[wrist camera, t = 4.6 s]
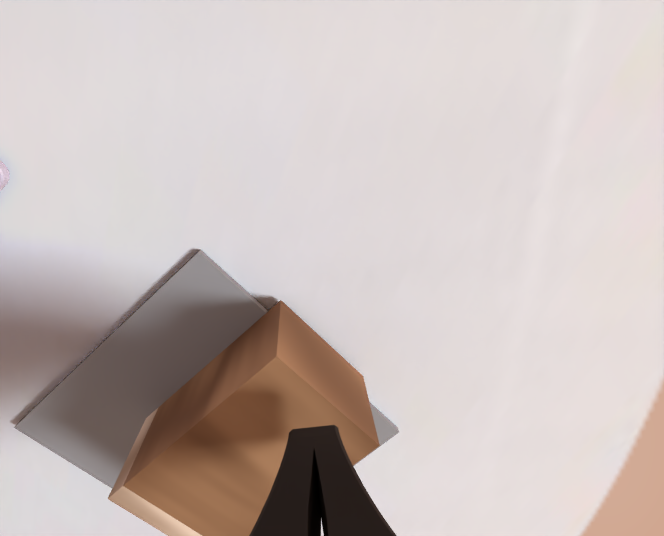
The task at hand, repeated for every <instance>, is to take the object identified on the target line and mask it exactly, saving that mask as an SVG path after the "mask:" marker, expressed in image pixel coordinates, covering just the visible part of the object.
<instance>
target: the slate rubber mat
mask: <svg viewBox="0 0 664 536" xmlns="http://www.w3.org/2000/svg"><path fill="white" fill-rule="evenodd" d="M267 312H268V310H267V309H266V308H265V307H263V306H262V305H261V304H260V303H259V302H258V301H257V300H256V299H255V298H253V297H252V296H251V295H250V294H249V293H248V292H247V291H246V290H245V289H244V288H242V287H241V286H240V285H239V284H238V283H237V282H236V281H235V280H234V279H232V278H231V277H230V276H229V275H228V274H227V273H226V272H225V271H224V270H222V269H221V268H220V267H219V266H218V265H217V264H216V263H215V262H214V261H213V260H211V259H210V258H209V257H208V256H207V255H206V254H205V253H204V252H203V251H201V250H199V251H198V252H197V253H196V254H195V255H194V256H193V257H192V258H191V259H190V260H189V261H188V262H187V263H186V264H185V265H184V266H183V267H182V268H180V269H179V270H178V271H177V272H176V273H175V274H174V275H173V276H172V277H171V278H170V279H169V280H168V281H167V282H166V283H165V284H164V285H163V286H162V287H161V288H159V289H158V290H157V291H156V292H155V293H154V294H153V295H152V296H151V297H150V298H149V299H148V300H147V301H146V302H145V303H144V304H143V305H142V306H141V307H140V308H138V309H137V310H136V311H135V312H134V313H133V314H132V315H131V316H130V317H129V318H128V319H127V320H126V321H125V322H124V323H123V324H122V325H121V326H120V327H119V328H117V329H116V330H115V331H114V332H113V333H112V334H111V335H110V336H109V337H108V338H107V339H106V340H105V341H104V342H103V343H102V344H101V345H100V346H99V347H98V348H96V349H95V350H94V351H93V352H92V353H91V354H90V355H89V356H88V357H87V358H86V359H85V360H84V361H83V362H82V363H81V364H80V365H79V366H78V367H77V368H75V369H74V370H73V371H72V372H71V373H70V374H69V375H68V376H67V377H66V378H65V379H64V380H63V381H62V382H61V383H60V384H59V385H58V386H57V387H56V388H54V389H53V390H52V391H51V392H50V393H49V394H48V395H47V396H46V397H45V398H44V399H43V400H42V401H41V402H40V403H39V404H38V405H37V406H36V407H35V408H33V409H32V410H31V411H30V412H29V413H28V414H27V415H26V416H25V417H24V418H23V419H22V420H21V421H20V422H19V423H18V424H17V425H16V426H15V427H14V428H16V429H17V430H19V431H20V432H22V433H24V434H25V435H27V436H28V437H30V438H32V439H33V440H35V441H37V442H38V443H40V444H41V445H43V446H45V447H46V448H48V449H49V450H51V451H53V452H54V453H56V454H58V455H59V456H61V457H62V458H64V459H66V460H67V461H69V462H70V463H72V464H74V465H75V466H77V467H78V468H80V469H82V470H83V471H85V472H87V473H88V474H90V475H91V476H93V477H95V478H96V479H98V480H99V481H101V482H103V483H104V484H106V485H108V486H109V487H111V488H112V489H113V487H114V484H115V482H116V480H117V478H118V476H119V474H120V472H121V470H122V468H123V466H124V463H125V461H126V459H127V457H128V455H129V453H130V451H131V449H132V447H133V445H134V442H135V440H136V438H137V436H138V434H139V432H140V430H141V428H142V426H143V424H144V421H145V419H146V418H147V417H148V416H149V415H150V414H151V413H153V412H154V411H155V410H156V409H157V408H158V407H159V406H161V405H162V404H163V403H164V402H165V401H166V400H167V399H169V398H170V397H171V396H172V395H173V394H174V393H175V392H177V391H178V390H179V389H180V388H181V387H182V386H183V385H185V384H186V383H187V382H188V381H189V380H190V379H191V378H193V377H194V376H195V375H196V374H197V373H198V372H199V371H201V370H202V369H203V368H204V367H205V366H206V365H207V364H209V363H210V362H211V361H212V360H213V359H214V358H215V357H217V356H218V355H219V354H220V353H221V352H222V351H223V350H225V349H226V348H227V347H228V346H229V345H230V344H231V343H233V342H234V341H235V340H236V339H237V338H238V337H239V336H241V335H242V334H243V333H244V332H245V331H246V330H247V329H249V328H250V327H251V326H252V325H253V324H254V323H255V322H257V321H258V320H259V319H260V318H261V317H262V316H263V315H265V314H266V313H267ZM369 403H370V402H369ZM370 407H371V411H372V415H373V420H374V424H375V428H376V432H377V436H378V440H379V444H380V446H381V445H382V444H384V443H385V442H386V441H388V440H389V439H390V438H392V437H393V436H394V435H396V434H397V433H398V432H399V431H398V428H397V427H396V426H395V425H394V424H393V423H392V422H391V421H390V420H389V419H387V418H386V417H385V416H384V415H383V414H382V413H381V412H380V411H379V410H377V409H376V408H375V407H374V406H373V405H372V404H371V403H370ZM380 446H379V447H380ZM377 448H378V447H377ZM377 448H376V449H377ZM376 449H375V450H376ZM373 451H374V450H373ZM373 451H372V452H373ZM372 452H371V453H372ZM369 454H370V453H369ZM369 454H368V455H369ZM365 457H366V456H365ZM365 457H364V458H365ZM361 460H362V459H361ZM361 460H360V461H361ZM357 463H358V462H357ZM357 463H356V464H357ZM354 465H355V464H354ZM354 465H353V466H354Z"/></svg>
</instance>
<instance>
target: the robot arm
mask: <svg viewBox="0 0 664 536" xmlns="http://www.w3.org/2000/svg"><path fill="white" fill-rule="evenodd" d="M8 181H9V171H8V169H7V167H6V166H5V165H4V163H3V162H1V161H0V191H1V190H2V189H3V188H4V187H5V185H6V184H7V183H8ZM321 519H322V526H323V532H324V536H396V534H395V533H394V532H393V530H392V529H391V528H390V526H389V525H388V523H387V522H386V521H385V519H384V518H383V516H382V515H381V513H380V512H379V510H378V509H377V507H376V505H375V504H374V502H373V501H372V499H371V497H370V496H369V494H368V493H367V491H366V489H365V487H364V486H363V484H362V482H361V480H360V478H359V476H358V475H357V473H356V471H355V469H354V467H353V465H352V463H351V461H350V459H349V457H348V454H347V452H346V450H345V447H344V445H343V442H342V440H341V437H340V433H339V429H338V427H337V426H335V425H327V426H318V427H308V428H299V429H292V430H291V431H290V432H289V436H288V441H287V445H286V449H285V452H284V456H283V459H282V462H281V465H280V468H279V470H278V473H277V476H276V478H275V481H274V483H273V486H272V488H271V491H270V493H269V496H268V498H267V500H266V502H265V504H264V507H263V509H262V511H261V513H260V515H259V517H258V520H257V522H256V524H255V526H254V528H253V529H252V531H251V533H250V535H249V536H321Z"/></svg>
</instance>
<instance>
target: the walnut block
mask: <svg viewBox="0 0 664 536" xmlns="http://www.w3.org/2000/svg"><path fill="white" fill-rule="evenodd" d="M327 425H335V426H337V427H338V429H339V433H340V437H341V440H342V442H343V445H344V447H345V450H346V452H347V454H348V457H349V459H350V461H351V463H352V465H354V464H356V463H357V462H359V461H360V460H361V459H363V458H364V457H365V456H367V455H368V454H369V453H371V452H372V451H373V450H375V449H376V448H377V447H379V446H380V444H379V440H378V436H377V432H376V428H375V424H374V420H373V415H372V411H371V407H370V403H369V399H368V395H367V391H366V387H365V383H364V378H363V376H362V375H361V374H360V373H359V372H358V371H357V370H356V369H355V368H354V367H352V366H351V365H350V364H349V363H348V362H347V361H346V360H345V359H344V358H343V357H342V356H341V355H340V354H338V353H337V352H336V351H335V350H334V349H333V348H332V347H331V346H330V345H329V344H328V343H327V342H326V341H324V340H323V339H322V338H321V337H320V336H319V335H318V334H317V333H316V332H315V331H314V330H313V329H311V328H310V327H309V326H308V325H307V324H306V323H305V322H304V321H303V320H302V319H301V318H300V317H299V316H297V315H296V314H295V313H294V312H293V311H292V310H291V309H290V308H289V307H288V306H287V305H286V304H285V303H283V302H282V301H279V302H278V303H277V304H276V305H275V306H274V307H273V308H271V309H270V310H269V311H268V312H267V313H266V314H265V315H263V316H262V317H261V318H260V319H259V320H258V321H257V322H255V323H254V324H253V325H252V326H251V327H250V328H249V329H247V330H246V331H245V332H244V333H243V334H242V335H241V336H239V337H238V338H237V339H236V340H235V341H234V342H233V343H231V344H230V345H229V346H228V347H227V348H226V349H225V350H223V351H222V352H221V353H220V354H219V355H218V356H217V357H215V358H214V359H213V360H212V361H211V362H210V363H209V364H207V365H206V366H205V367H204V368H203V369H202V370H201V371H199V372H198V373H197V374H196V375H195V376H194V377H193V378H191V379H190V380H189V381H188V382H187V383H186V384H185V385H183V386H182V387H181V388H180V389H179V390H178V391H177V392H175V393H174V394H173V395H172V396H171V397H170V398H169V399H167V400H166V401H165V402H164V403H163V404H162V405H161V406H159V407H158V408H157V409H156V410H155V411H154V412H153V413H151V414H150V415H149V416H148V417H147V418H146V419H145V421H144V424H143V426H142V428H141V430H140V432H139V434H138V436H137V438H136V440H135V442H134V445H133V447H132V449H131V451H130V453H129V455H128V457H127V459H126V461H125V463H124V466H123V468H122V470H121V472H120V474H119V476H118V478H117V480H116V482H115V484H114V487H113V489H112V491H111V493H110V495H109V497H108V499H109V500H110V501H112V502H114V503H115V504H117V505H119V506H120V507H122V508H124V509H125V510H127V511H128V512H130V513H132V514H133V515H135V516H137V517H138V518H140V519H142V520H143V521H145V522H147V523H148V524H150V525H152V526H153V527H155V528H156V529H158V530H160V531H161V532H163V533H165V534H166V535H168V536H249V535H250V533H251V531H252V529H253V528H254V526H255V524H256V522H257V520H258V517H259V515H260V513H261V511H262V509H263V507H264V504H265V502H266V500H267V498H268V496H269V493H270V491H271V488H272V486H273V483H274V481H275V478H276V476H277V473H278V470H279V468H280V465H281V462H282V459H283V456H284V452H285V449H286V445H287V441H288V436H289V432H290V431H291V430H292V429H299V428H308V427H318V426H327Z"/></svg>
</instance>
